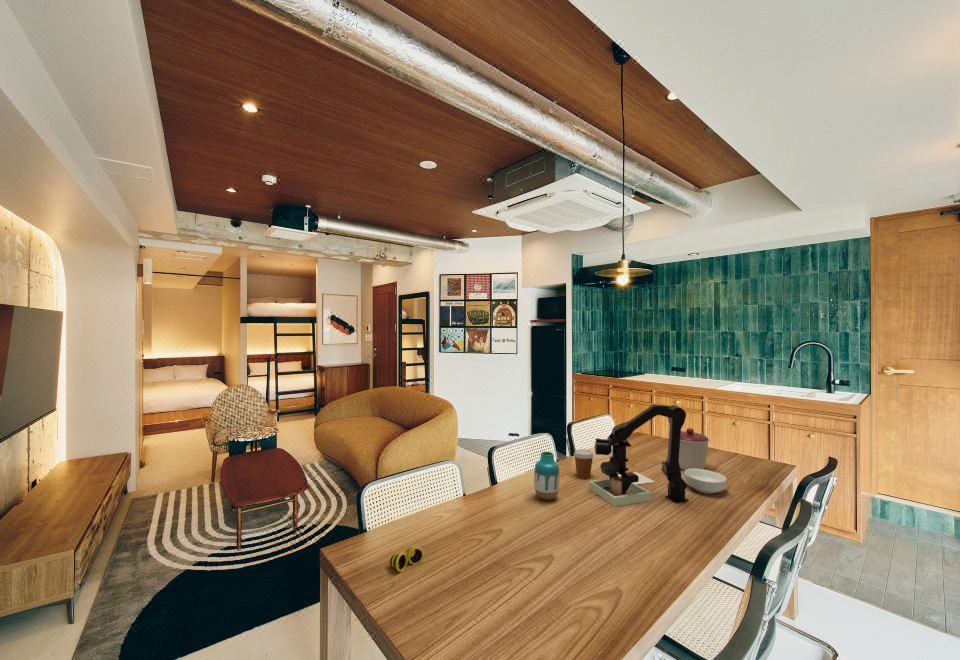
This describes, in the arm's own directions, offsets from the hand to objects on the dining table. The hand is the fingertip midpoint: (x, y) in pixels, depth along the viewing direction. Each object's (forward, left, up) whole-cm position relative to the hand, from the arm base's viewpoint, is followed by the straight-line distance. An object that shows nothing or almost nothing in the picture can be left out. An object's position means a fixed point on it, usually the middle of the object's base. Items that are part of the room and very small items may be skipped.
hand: (618, 491), depth 174 cm
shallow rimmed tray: (0, 0, -2) cm, 2 cm away
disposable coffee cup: (+23, +3, -2) cm, 23 cm away
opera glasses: (-24, +96, -2) cm, 99 cm away
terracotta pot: (0, 0, -2) cm, 2 cm away
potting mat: (+13, -19, -2) cm, 23 cm away
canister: (+17, -57, -2) cm, 60 cm away
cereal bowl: (-7, -41, -2) cm, 42 cm away
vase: (+6, +32, -2) cm, 33 cm away
